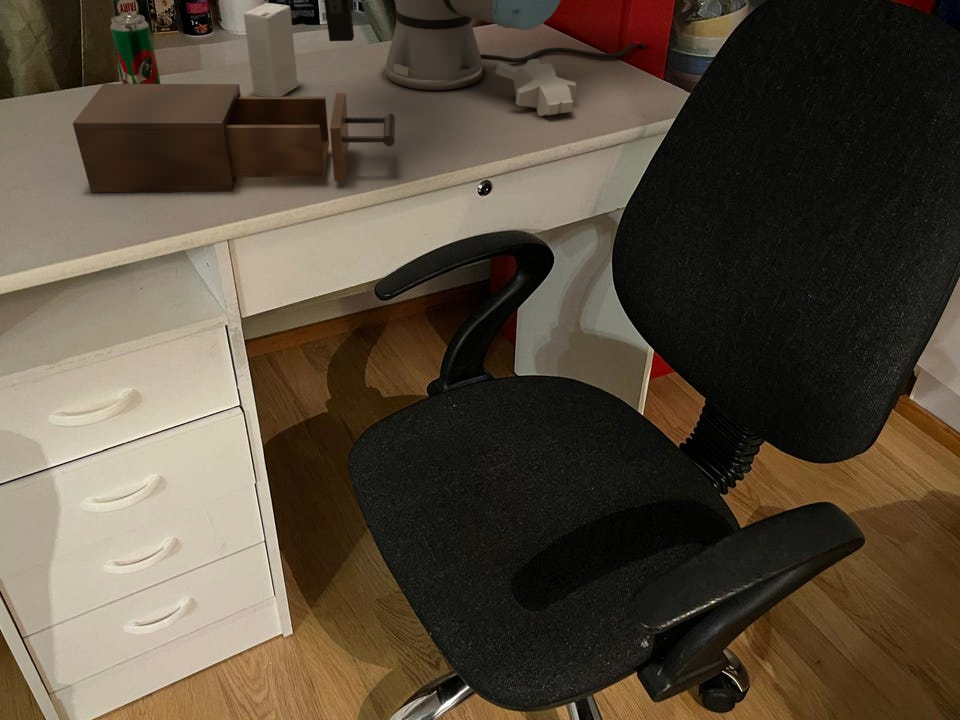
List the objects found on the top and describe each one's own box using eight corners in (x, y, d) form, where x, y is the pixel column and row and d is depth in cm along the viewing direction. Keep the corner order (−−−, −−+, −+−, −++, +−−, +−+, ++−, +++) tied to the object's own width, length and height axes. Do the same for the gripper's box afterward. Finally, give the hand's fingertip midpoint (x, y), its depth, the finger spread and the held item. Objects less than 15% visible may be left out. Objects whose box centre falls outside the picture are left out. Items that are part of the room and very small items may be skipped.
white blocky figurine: (533, 96, 120) (489, 51, 129) (529, 130, 123) (486, 83, 133) (592, 88, 123) (545, 45, 133) (586, 121, 126) (541, 76, 136)
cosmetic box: (274, 83, 133) (265, 1, 125) (300, 88, 131) (291, 5, 124) (252, 96, 128) (240, 11, 121) (277, 101, 127) (267, 15, 120)
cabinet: (248, 148, 113) (239, 83, 108) (233, 191, 103) (222, 122, 98) (119, 149, 112) (103, 83, 107) (91, 192, 102) (72, 122, 97)
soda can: (169, 99, 126) (153, 14, 119) (156, 112, 122) (138, 24, 115) (136, 97, 127) (117, 12, 119) (121, 109, 123) (101, 22, 115)
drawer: (396, 143, 114) (394, 92, 110) (395, 181, 105) (393, 127, 100) (229, 144, 112) (221, 92, 108) (213, 182, 103) (204, 128, 99)
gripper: (286, -206, 92) (318, 21, 107) (262, -189, 82) (300, 59, 96) (357, -208, 92) (379, 20, 106) (341, -191, 81) (367, 58, 96)
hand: (341, 38), depth 101 cm, fingers closed
